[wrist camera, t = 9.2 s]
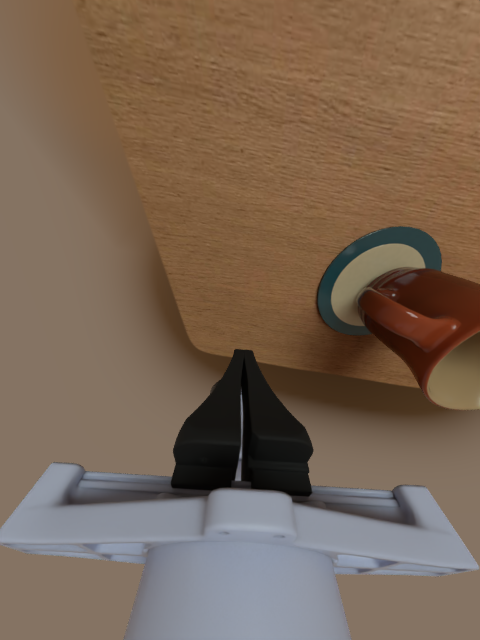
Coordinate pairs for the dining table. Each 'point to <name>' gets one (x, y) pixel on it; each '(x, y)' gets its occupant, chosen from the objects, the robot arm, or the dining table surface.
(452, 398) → the mug
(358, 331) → the plate
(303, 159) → the dining table surface
